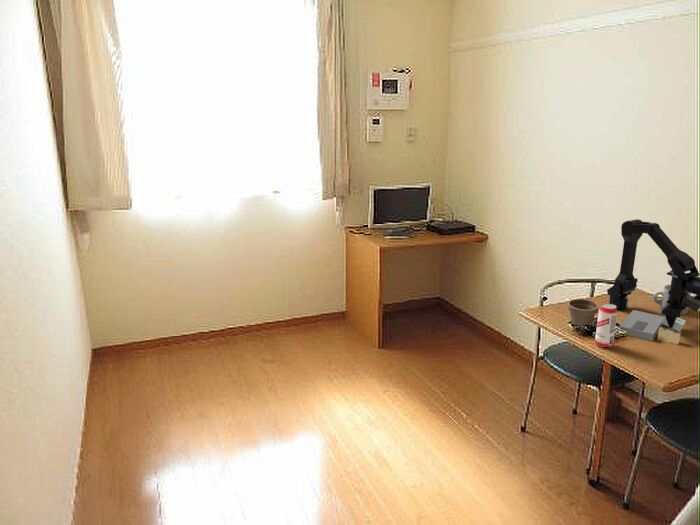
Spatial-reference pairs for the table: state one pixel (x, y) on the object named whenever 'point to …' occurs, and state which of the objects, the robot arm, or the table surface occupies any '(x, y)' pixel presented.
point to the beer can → (606, 325)
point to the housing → (642, 325)
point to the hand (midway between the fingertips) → (672, 325)
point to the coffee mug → (665, 298)
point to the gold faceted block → (669, 335)
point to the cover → (677, 324)
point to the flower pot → (582, 311)
